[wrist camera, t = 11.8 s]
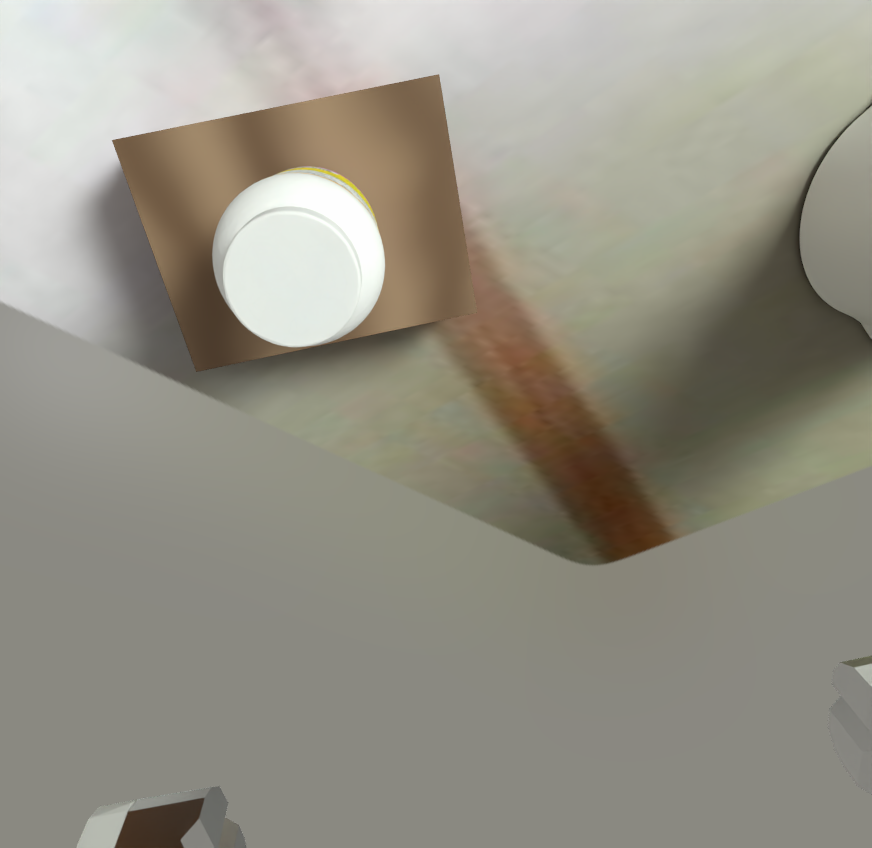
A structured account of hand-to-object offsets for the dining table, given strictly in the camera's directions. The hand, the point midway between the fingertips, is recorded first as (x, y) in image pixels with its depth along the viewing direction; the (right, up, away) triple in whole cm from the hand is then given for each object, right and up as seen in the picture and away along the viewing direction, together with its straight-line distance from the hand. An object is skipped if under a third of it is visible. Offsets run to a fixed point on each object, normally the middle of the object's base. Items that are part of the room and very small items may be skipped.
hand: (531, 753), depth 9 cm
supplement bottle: (-8, +14, +25) cm, 30 cm away
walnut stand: (-8, +16, +30) cm, 35 cm away
